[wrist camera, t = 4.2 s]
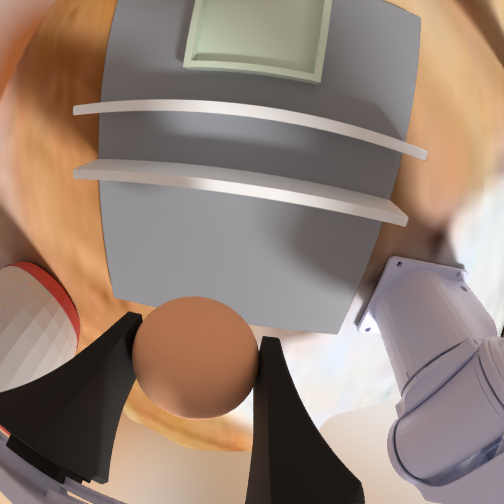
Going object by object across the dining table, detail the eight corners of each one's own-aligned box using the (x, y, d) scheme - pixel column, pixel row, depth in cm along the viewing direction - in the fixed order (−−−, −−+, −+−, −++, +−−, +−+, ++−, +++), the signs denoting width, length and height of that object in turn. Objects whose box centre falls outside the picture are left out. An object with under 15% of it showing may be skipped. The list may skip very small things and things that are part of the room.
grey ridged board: (414, 20, 10) (443, 7, 7) (335, 326, 23) (342, 360, 19) (129, -12, 10) (101, -29, 7) (118, 290, 23) (99, 319, 19)
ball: (271, 281, 11) (267, 388, 7) (254, 358, 13) (246, 445, 9) (151, 262, 11) (95, 351, 6) (160, 341, 13) (130, 420, 9)
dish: (330, -13, 9) (334, -22, 8) (316, 84, 13) (320, 82, 12) (209, -26, 9) (204, -35, 8) (190, 70, 13) (182, 66, 12)
